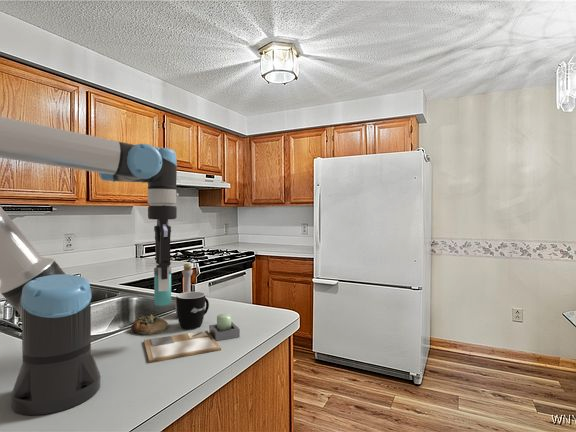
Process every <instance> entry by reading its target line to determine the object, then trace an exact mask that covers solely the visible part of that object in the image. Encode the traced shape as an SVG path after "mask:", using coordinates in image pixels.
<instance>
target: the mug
mask: <svg viewBox="0 0 576 432" xmlns="http://www.w3.org/2000/svg"><path fill="white" fill-rule="evenodd" d="M175 302H176V305H177V313H176V314H177V315H176V316H177V321H178V325H179V327H180V328H181V329H182V330H188V329H189V330H196V329H198V328H200V327H201V326H202V325H203V321H204V316H205V315H206V314H207V312H208V310H209V308H210V303H209V302H210V301H209V299H208V298H206V293H205V292H201V291H190V292H185V293H184V292H181V293H178V294H177V295H176V299H175Z"/></svg>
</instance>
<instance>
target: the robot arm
mask: <svg viewBox="0 0 576 432" xmlns="http://www.w3.org/2000/svg"><path fill="white" fill-rule="evenodd" d="M0 159H5V160H6V159H7V160H14V161H19V162H25V163H26V162H27V163H31V164H32V163H33V164H40V165H47V166H52V167H53V166H54V167H59V168H66V169H72V170H73V169H74V170H80V171H86V172H94V173H98V177H99V179H101V180H103V181H108V182H113V183H115V182H124V183H142V184H143V183H144V184H145V183H147V204H149V205H148V207H147V218H148V220H156V225H154V226H153V227H154V228H153V229H154V230H153V231H154V241H155V242H154V243H155V244H154V245H155V247H154V249H155V252H154V253H155V255H154V256H155V257H154V260H155V268H156V267H157V268H158V291H159V292H160V291H169V267H171V264H172V263H171V234H172V233H171V232H172V227H171V225H169V220H176V219H177V218H178V217H177V216H178V215H177V213H178V212H177V211H178V210H177V209H178V208H177V206H176V204H177V197H179V193H178V192H177V173H178V171H177V170H178V164H177V163H178V162H177V160H178V159H177V153H176V151H175V150H174V149H171V148H167V147H154V146H153V145H151V144H149V143H138V144H132V143H127V142H123V141H118V140H112V139H108V138H104V137H100V136H95V135H89V134H84V133H81V132H76V131H75V132H74V131H70V130H65V129H61V128H56V127H51V126H47V125H42V124H39V123H32V122H28V121H23V120H19V119H16V118H15V119H13V118H10V117H4V116H0ZM0 282H1V283H0V293H1V295H2V296H3V297H4V298H5V299H6V301H8V303H9V304H10V305H11V306H12V307H13V308H14V309H15V310H16V312H17V313H18V314H19V317H20V319H21V333H22V334H21V339H22V343H21V344H22V345H21V347H22V348H21V349H22V351H21V352H22V364H21V367H20V369H19V372H18V376H17V378H16V380H15V383H14V385H13V386H14V387H13V389H12V392H11V395H10V396H11V398H10V399H11V409H12V411H14V412H15V413H17V414H20V415H27V416H37V415H38V416H39V415H47V414H54V413H58V412H61V411H64V410H68V409H70V408H73V407H76V406H78V405H80V404H82V403H84V402H86V401H87V400H89V399H91V398H92V397H93V396H95V395H96V394H97V393H98V391H99V390H100V388H101V374H100V370H99V368H98V366H97V363H96V360H95V358H94V355H93V353H92V346H91V345H92V344H91V342H92V341H91V340H92V339H91V338H92V337H91V336H92V334H91V333H92V332H91V331H92V326H91V325H92V324H91V323H92V322H91V321H92V314H91V313H92V310H91V309H92V308H91V305H92V304H91V300H92V296H93V295H92V290H91V284H90V282H89V280H88V279H87V278H86V277H83V276H81V275H74V274H66V272H65V271H64V270H63V269H62V268H61V267H60V265H59V264H58V263H57V262H56V261H55V259H54V258H51V257H43V256H41V254H40V253H39V252H38V250H37V248H35V247H34V245H33V244H32V243H31V242H30V240H29V239H27V237H26V236H25V234H23V232H22V231H21V230H20V228H19V227H18V226H17V225H16V224H15V223H14V221H13V220H12V218H11V217H10V216H9V215H8V213H6V211H5V210H4V209H3V208H2V206H0Z"/></svg>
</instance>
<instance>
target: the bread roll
mask: <svg viewBox="0 0 576 432" xmlns="http://www.w3.org/2000/svg"><path fill="white" fill-rule="evenodd" d="M168 325H169V323H168V322H167V320H165V319H163V318H161V317H159V316H158V315H153V314H149V315H147V316H144V315H142V316H141V317H139V318H137V319H136V320H135V321H134V322H133V323H132V325H131V327H130V332H131V331H132V332H131V333H133V334H136V335H140V334H141V335H142V336H145V335H146V336H149V335H157V334H159V333H161V331H162V332H163V331H165V330H166V329H167V327H168ZM156 333H157V334H156Z"/></svg>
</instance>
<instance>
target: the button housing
mask: <svg viewBox="0 0 576 432" xmlns="http://www.w3.org/2000/svg"><path fill="white" fill-rule="evenodd" d="M208 327H209V328H208V329H209V331H208V332H209V333H210V335H211V336H212V337H213V338H214V340H215V341H216V342H218V340H219V341H224V340H230V339H236V338H241V336H240V334H241V333H240V332H241V331H240V328H239V327H238V326H237V325H236V324H235V323H234V322H233V321H231V329H229V330H222V331H218V330H217V323H215V324H209V325H208Z"/></svg>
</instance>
